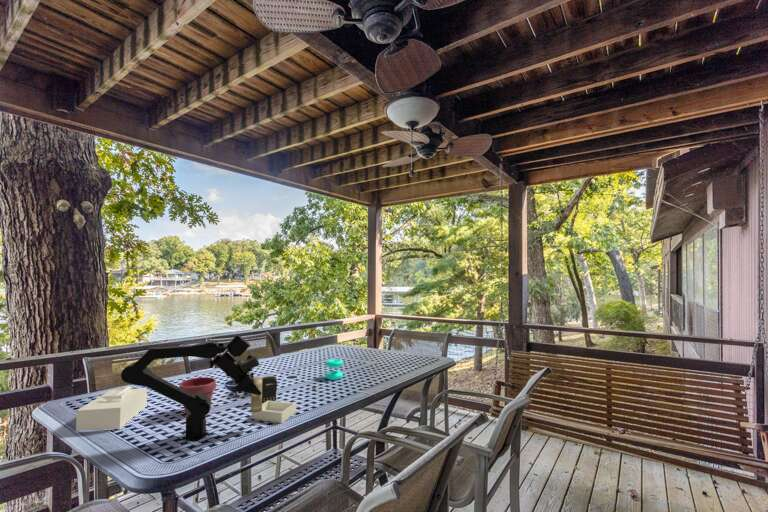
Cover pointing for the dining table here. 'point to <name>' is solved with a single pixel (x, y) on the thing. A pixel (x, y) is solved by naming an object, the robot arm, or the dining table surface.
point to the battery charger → (269, 388)
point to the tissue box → (112, 409)
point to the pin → (257, 396)
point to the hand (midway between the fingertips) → (260, 392)
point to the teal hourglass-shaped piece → (334, 374)
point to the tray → (275, 411)
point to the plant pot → (199, 386)
